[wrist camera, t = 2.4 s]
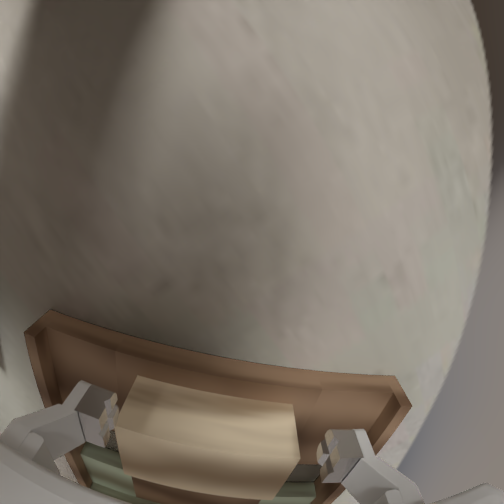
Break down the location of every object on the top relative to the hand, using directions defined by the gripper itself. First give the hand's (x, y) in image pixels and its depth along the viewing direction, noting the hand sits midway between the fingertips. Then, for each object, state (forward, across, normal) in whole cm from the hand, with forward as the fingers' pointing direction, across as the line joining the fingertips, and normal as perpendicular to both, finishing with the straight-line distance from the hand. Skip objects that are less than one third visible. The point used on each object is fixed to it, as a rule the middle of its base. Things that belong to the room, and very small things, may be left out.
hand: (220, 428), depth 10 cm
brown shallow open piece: (+9, 0, +15) cm, 17 cm away
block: (+7, 0, +7) cm, 10 cm away
